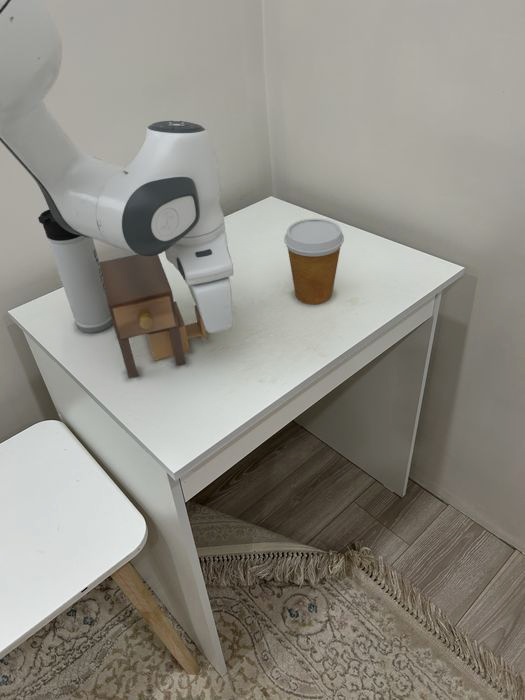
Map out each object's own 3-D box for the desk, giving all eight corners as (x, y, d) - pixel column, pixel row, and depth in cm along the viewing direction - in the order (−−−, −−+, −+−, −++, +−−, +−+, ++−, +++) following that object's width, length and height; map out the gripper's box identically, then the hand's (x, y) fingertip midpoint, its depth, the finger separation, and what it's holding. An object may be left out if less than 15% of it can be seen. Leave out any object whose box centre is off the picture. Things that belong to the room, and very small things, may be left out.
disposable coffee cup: (351, 288, 94) (354, 224, 87) (324, 316, 88) (325, 250, 81) (304, 274, 99) (303, 212, 91) (275, 300, 93) (272, 236, 85)
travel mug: (67, 325, 90) (28, 213, 78) (100, 307, 94) (67, 197, 81) (90, 339, 87) (52, 224, 74) (123, 319, 91) (92, 207, 78)
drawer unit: (130, 386, 78) (109, 312, 70) (119, 332, 88) (99, 261, 80) (188, 371, 80) (174, 297, 71) (170, 320, 90) (156, 250, 82)
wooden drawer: (154, 361, 82) (148, 334, 79) (147, 334, 87) (140, 308, 84) (209, 347, 84) (205, 320, 80) (199, 321, 89) (195, 295, 86)
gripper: (160, 215, 83) (175, 291, 92) (188, 282, 68) (203, 365, 77) (200, 207, 84) (211, 282, 93) (236, 271, 69) (245, 354, 78)
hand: (207, 320), depth 85 cm, fingers closed, pressing on wooden drawer
